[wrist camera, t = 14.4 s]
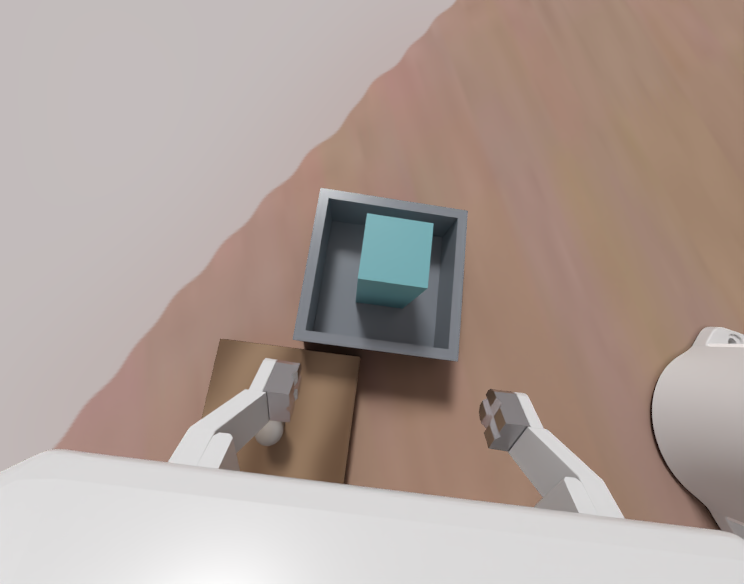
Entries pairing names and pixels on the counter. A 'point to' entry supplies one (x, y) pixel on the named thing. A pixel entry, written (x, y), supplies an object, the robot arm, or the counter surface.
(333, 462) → the brown wooden lid
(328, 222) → the bin
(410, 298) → the strut
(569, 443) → the counter surface
